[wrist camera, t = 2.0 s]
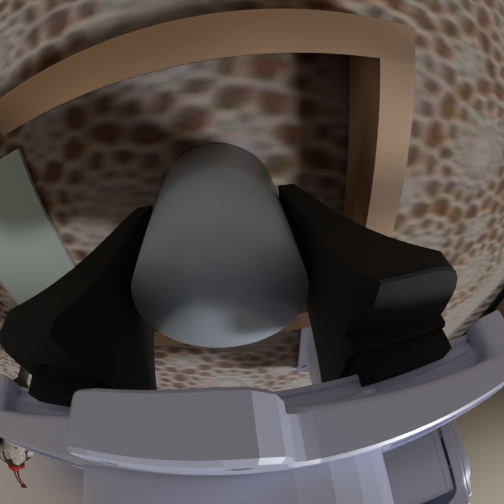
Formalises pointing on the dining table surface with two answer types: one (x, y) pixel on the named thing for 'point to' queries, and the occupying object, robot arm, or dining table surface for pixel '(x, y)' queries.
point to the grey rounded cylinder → (219, 253)
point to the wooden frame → (266, 42)
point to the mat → (26, 234)
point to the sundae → (10, 451)
